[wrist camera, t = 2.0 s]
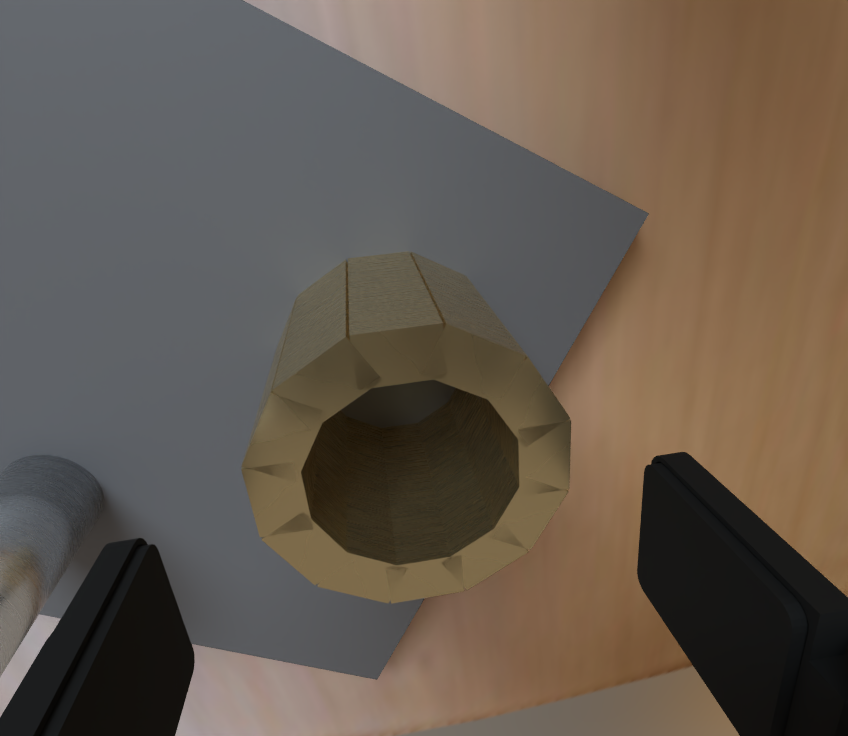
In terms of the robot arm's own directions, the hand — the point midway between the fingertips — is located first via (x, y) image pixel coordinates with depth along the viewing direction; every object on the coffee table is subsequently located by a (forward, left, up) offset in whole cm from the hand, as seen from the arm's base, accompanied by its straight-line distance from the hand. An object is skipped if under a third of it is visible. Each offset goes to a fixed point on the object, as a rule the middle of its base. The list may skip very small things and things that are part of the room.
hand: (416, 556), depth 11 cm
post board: (+2, -4, -9) cm, 10 cm away
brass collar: (-1, 0, -7) cm, 7 cm away
